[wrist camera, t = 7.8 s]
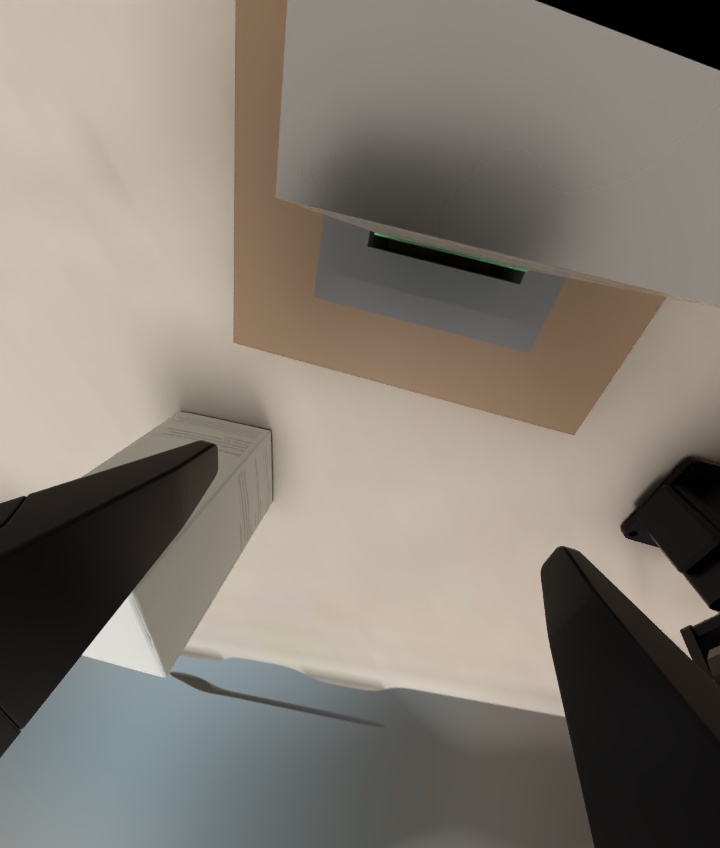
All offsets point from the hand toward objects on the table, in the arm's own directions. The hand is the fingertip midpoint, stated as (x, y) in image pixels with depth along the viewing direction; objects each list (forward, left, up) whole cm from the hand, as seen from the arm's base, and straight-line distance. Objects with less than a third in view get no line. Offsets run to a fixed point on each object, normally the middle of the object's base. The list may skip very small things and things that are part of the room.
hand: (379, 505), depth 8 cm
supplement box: (+11, +11, -12) cm, 20 cm away
